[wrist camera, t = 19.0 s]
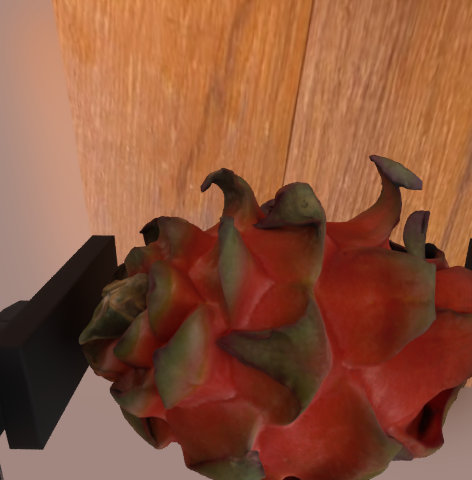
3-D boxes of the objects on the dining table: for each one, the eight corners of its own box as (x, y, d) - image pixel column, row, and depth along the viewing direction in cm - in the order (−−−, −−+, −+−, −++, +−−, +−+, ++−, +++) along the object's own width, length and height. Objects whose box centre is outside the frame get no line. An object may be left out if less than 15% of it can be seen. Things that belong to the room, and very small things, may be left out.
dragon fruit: (108, 237, 17) (401, 219, 18) (111, 477, 15) (444, 439, 16) (25, 123, 9) (564, 105, 10) (4, 619, 7) (697, 519, 8)
